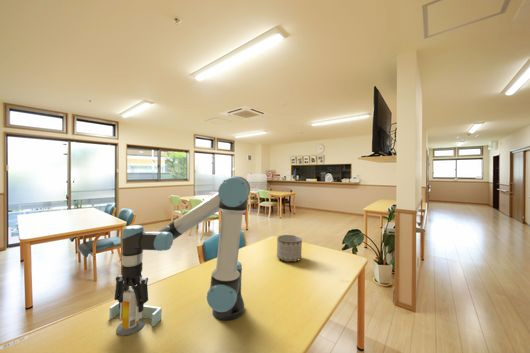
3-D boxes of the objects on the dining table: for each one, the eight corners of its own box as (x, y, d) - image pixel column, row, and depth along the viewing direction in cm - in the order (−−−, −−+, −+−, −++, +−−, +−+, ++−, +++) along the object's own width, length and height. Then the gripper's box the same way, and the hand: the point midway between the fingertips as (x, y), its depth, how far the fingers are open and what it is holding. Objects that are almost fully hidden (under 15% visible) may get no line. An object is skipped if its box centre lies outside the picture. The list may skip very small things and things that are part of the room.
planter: (303, 264, 162) (303, 242, 162) (277, 263, 162) (277, 241, 162) (299, 254, 181) (299, 235, 181) (276, 254, 182) (276, 234, 182)
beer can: (135, 318, 95) (136, 284, 96) (141, 325, 92) (142, 289, 92) (119, 325, 91) (121, 289, 91) (125, 332, 87) (126, 295, 87)
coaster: (149, 321, 95) (149, 319, 95) (131, 337, 85) (131, 336, 85) (129, 317, 97) (129, 316, 97) (109, 333, 87) (109, 332, 87)
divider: (161, 318, 97) (161, 307, 97) (153, 326, 92) (154, 314, 92) (118, 311, 101) (119, 301, 101) (109, 318, 96) (109, 307, 96)
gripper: (159, 262, 93) (157, 315, 93) (119, 257, 96) (118, 309, 97) (146, 269, 86) (145, 327, 86) (104, 264, 89) (102, 320, 89)
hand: (130, 317), depth 91 cm, fingers open, 7 cm apart
